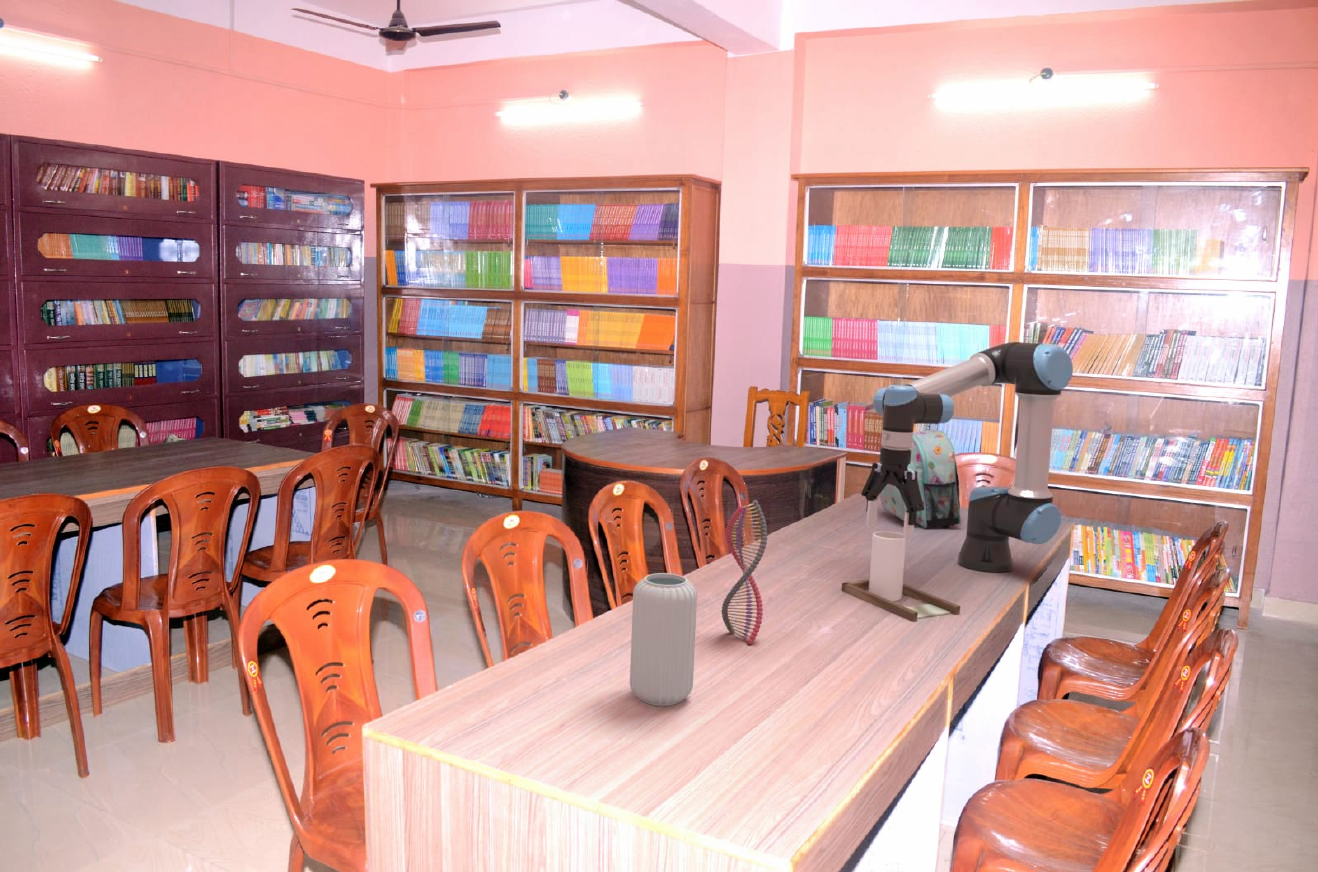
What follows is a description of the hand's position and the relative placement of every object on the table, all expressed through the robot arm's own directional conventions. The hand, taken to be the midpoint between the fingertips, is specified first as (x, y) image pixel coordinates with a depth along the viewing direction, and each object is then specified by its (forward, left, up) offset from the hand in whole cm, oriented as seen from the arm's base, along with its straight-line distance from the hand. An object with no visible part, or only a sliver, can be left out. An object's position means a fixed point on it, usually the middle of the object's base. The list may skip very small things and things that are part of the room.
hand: (889, 531), depth 242 cm
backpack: (-71, -65, -17) cm, 98 cm away
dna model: (+52, +13, -17) cm, 56 cm away
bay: (0, +5, -17) cm, 18 cm away
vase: (+83, +34, -17) cm, 91 cm away
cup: (0, 0, -17) cm, 17 cm away
